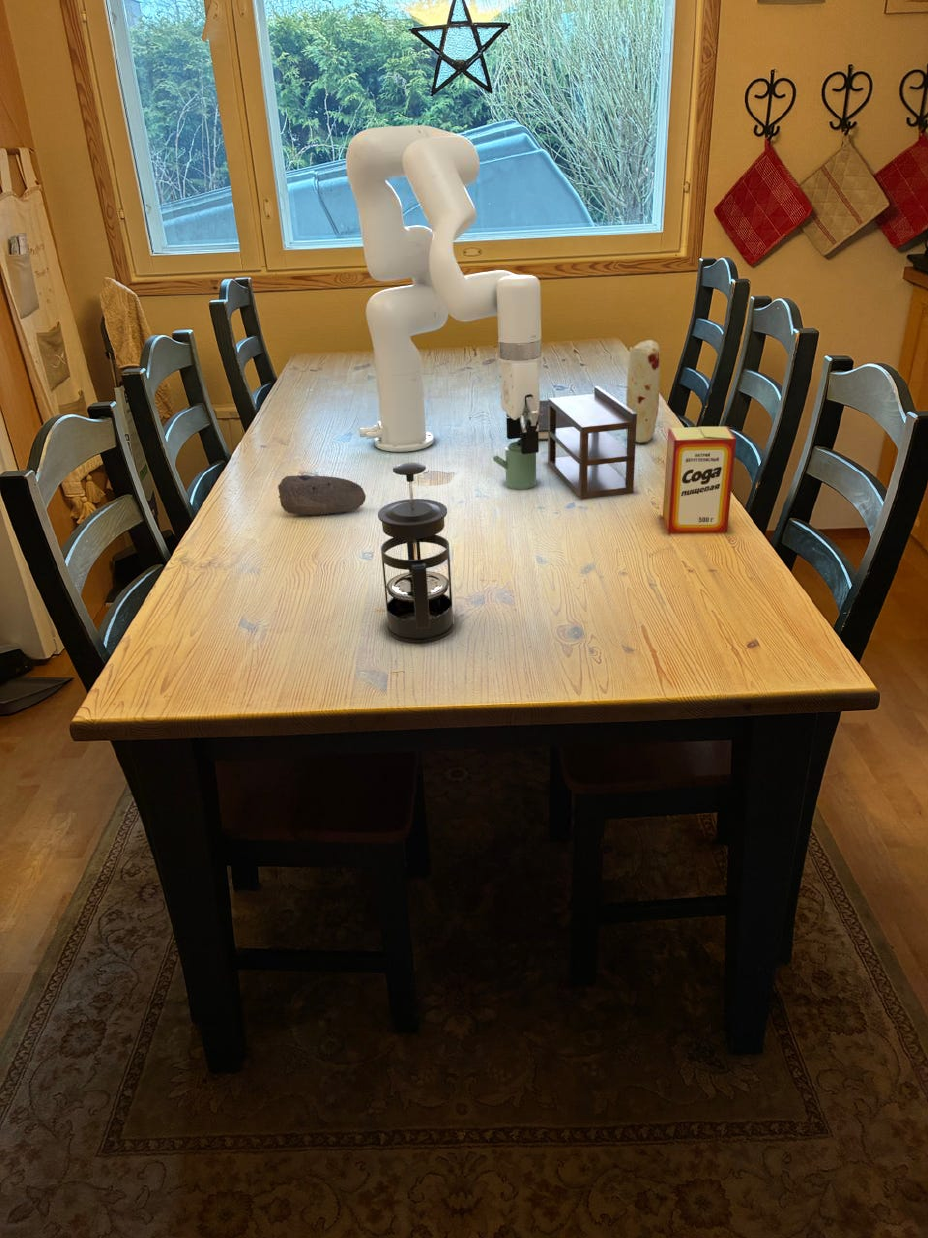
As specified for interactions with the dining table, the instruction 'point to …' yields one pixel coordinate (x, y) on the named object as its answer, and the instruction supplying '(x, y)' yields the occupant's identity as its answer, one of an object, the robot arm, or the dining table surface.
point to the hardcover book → (543, 421)
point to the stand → (592, 443)
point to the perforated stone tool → (319, 495)
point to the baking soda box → (698, 479)
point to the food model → (644, 387)
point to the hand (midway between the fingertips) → (522, 445)
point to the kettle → (518, 467)
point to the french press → (416, 567)
